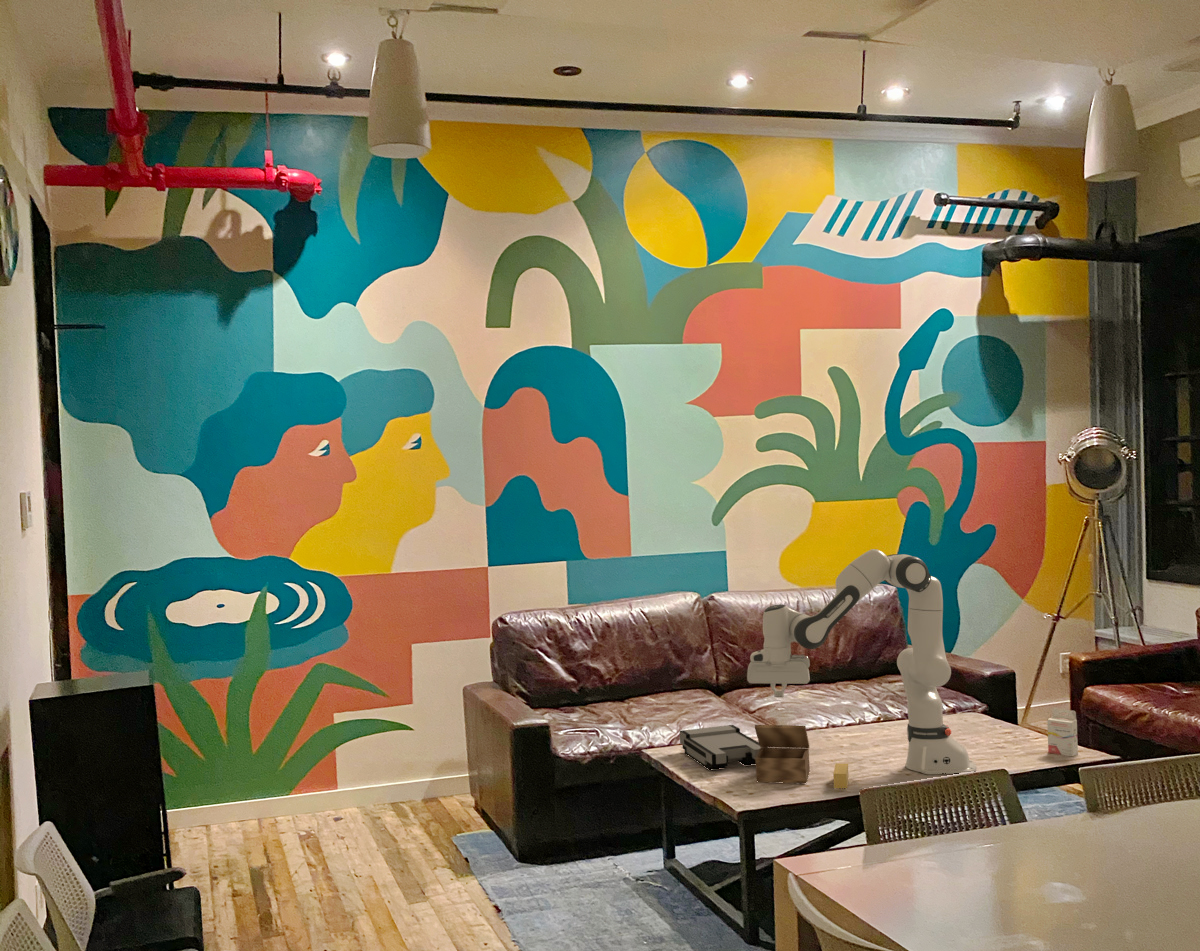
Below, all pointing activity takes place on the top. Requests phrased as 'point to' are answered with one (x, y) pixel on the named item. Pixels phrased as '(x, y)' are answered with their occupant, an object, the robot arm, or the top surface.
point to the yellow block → (841, 776)
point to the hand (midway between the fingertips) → (779, 696)
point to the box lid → (782, 736)
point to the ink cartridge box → (1062, 733)
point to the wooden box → (782, 765)
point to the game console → (719, 746)
